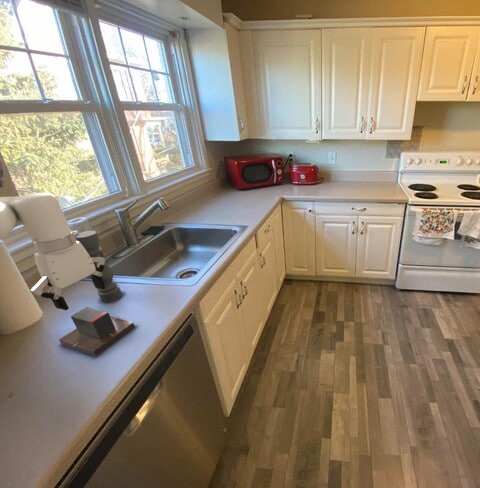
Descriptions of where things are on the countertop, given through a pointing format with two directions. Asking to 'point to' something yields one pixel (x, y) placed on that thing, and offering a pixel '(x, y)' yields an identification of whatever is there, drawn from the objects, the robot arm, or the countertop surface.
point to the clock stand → (95, 344)
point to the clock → (93, 322)
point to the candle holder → (92, 247)
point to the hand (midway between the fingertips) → (83, 297)
